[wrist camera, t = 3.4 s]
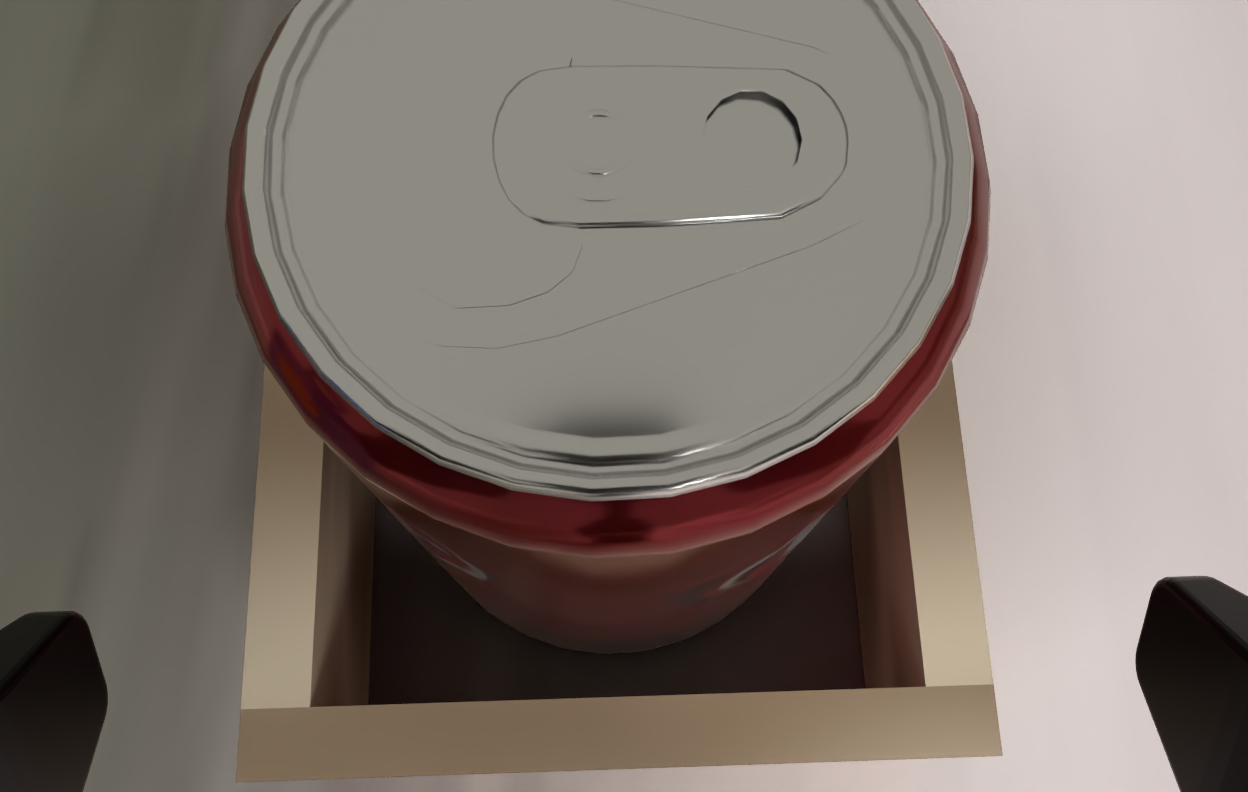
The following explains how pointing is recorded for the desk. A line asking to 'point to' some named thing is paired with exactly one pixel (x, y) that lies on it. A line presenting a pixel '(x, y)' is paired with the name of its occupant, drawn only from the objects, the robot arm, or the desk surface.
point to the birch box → (610, 726)
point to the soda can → (608, 278)
